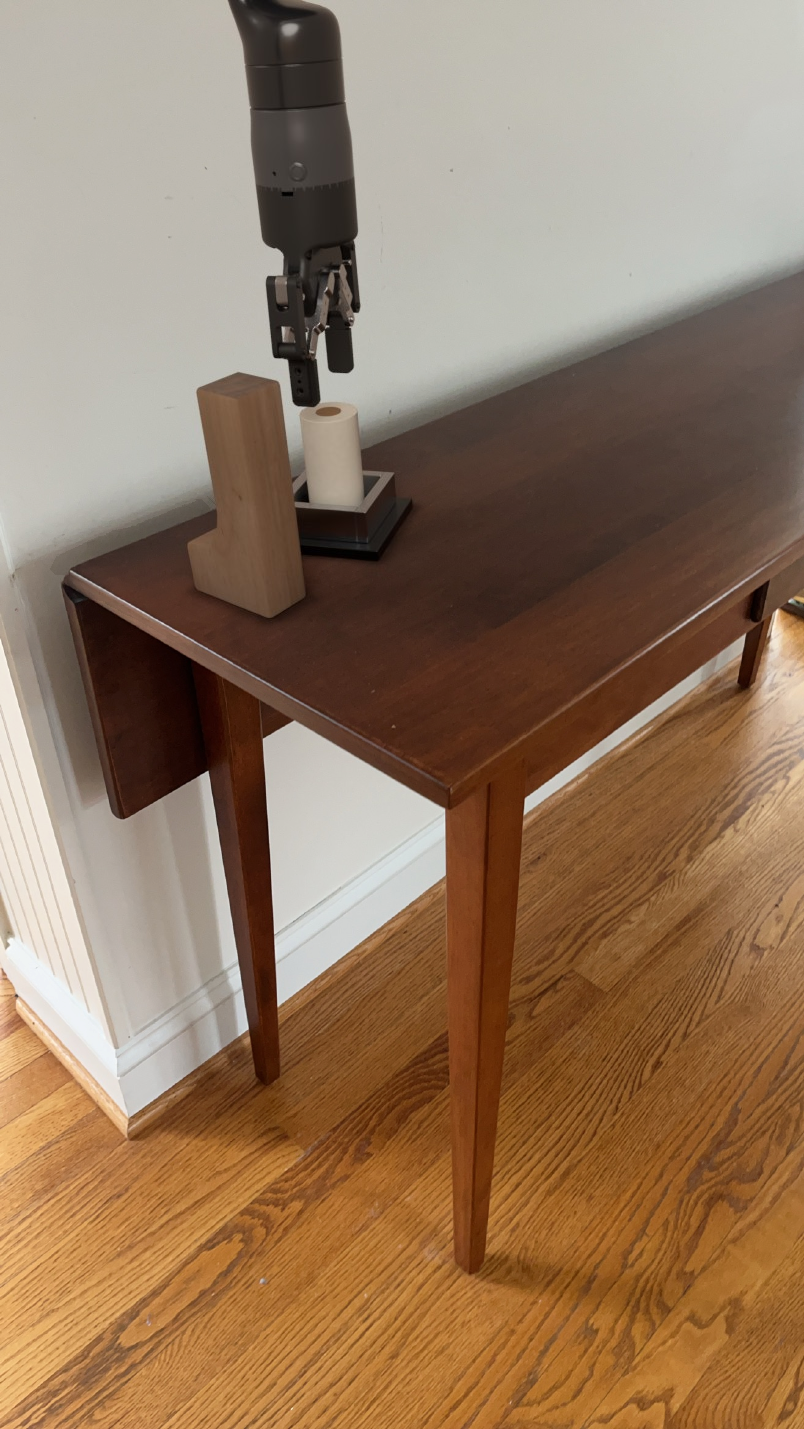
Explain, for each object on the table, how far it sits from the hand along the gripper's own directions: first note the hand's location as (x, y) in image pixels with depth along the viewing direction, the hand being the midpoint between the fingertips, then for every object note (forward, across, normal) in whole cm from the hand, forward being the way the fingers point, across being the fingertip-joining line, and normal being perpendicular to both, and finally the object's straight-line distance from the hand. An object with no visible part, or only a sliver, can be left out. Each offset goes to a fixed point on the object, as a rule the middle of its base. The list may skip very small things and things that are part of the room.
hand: (324, 388), depth 87 cm
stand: (+13, 0, 0) cm, 13 cm away
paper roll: (+12, 0, 0) cm, 12 cm away
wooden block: (+13, +13, -3) cm, 19 cm away
